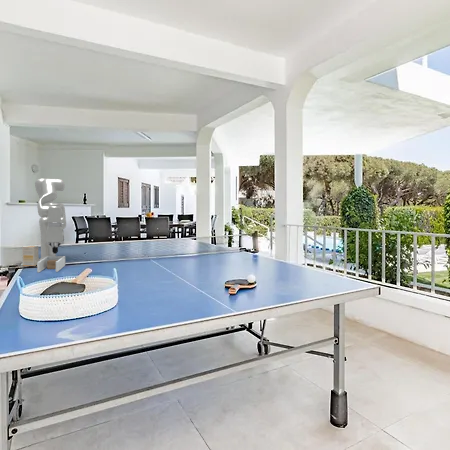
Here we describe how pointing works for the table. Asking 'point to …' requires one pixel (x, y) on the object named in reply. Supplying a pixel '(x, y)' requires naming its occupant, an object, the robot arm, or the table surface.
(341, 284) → the table surface
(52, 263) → the walnut block
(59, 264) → the frosted channel
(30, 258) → the supplement box
